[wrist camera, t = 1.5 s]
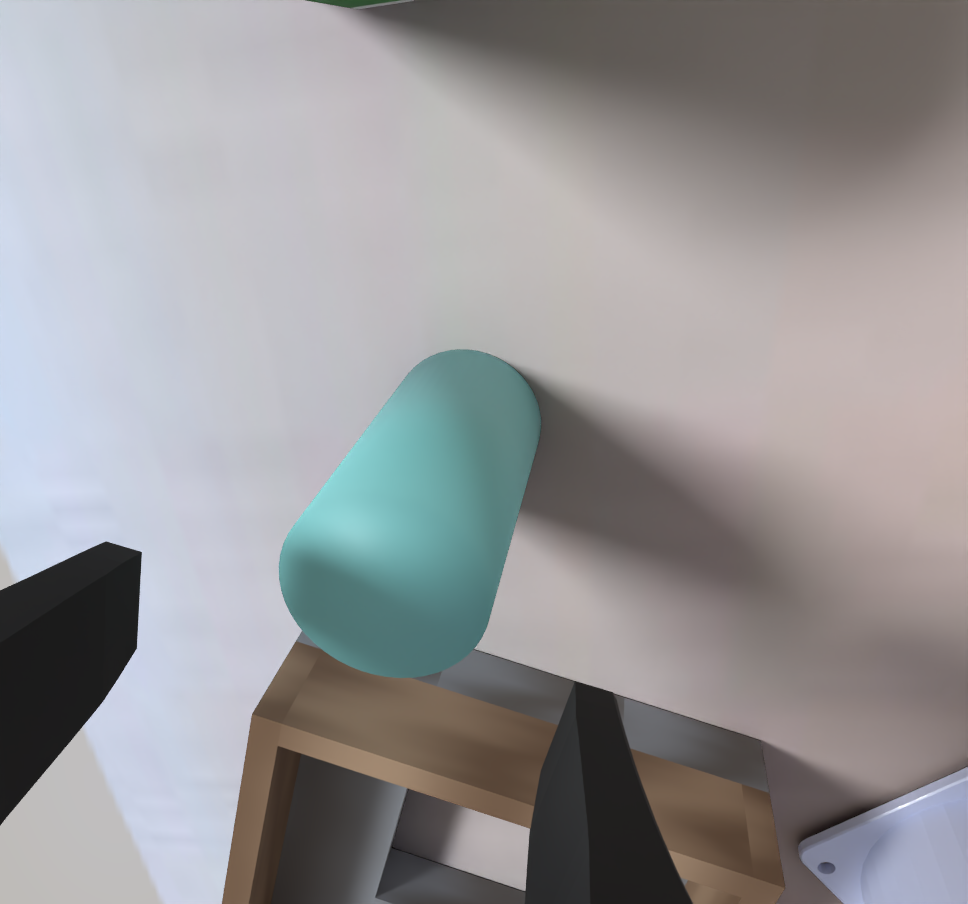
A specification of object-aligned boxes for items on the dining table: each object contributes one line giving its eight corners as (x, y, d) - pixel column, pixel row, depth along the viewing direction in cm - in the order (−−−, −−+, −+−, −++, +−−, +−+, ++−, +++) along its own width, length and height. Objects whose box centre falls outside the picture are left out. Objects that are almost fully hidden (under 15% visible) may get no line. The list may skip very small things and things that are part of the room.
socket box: (760, 740, 25) (785, 888, 21) (615, 1002, 31) (610, 1158, 27) (320, 600, 26) (252, 714, 21) (265, 884, 32) (203, 1017, 28)
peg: (572, 429, 22) (537, 608, 15) (465, 513, 24) (387, 710, 16) (467, 318, 21) (377, 450, 14) (364, 412, 23) (237, 573, 16)
